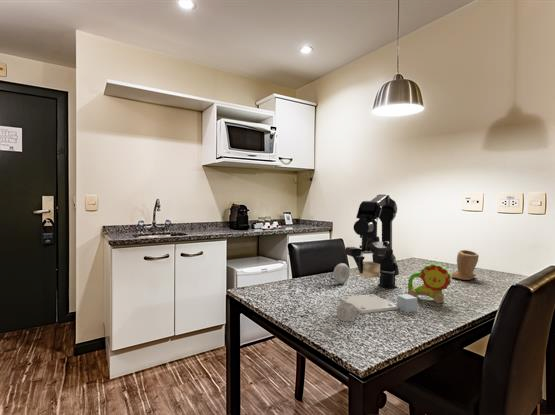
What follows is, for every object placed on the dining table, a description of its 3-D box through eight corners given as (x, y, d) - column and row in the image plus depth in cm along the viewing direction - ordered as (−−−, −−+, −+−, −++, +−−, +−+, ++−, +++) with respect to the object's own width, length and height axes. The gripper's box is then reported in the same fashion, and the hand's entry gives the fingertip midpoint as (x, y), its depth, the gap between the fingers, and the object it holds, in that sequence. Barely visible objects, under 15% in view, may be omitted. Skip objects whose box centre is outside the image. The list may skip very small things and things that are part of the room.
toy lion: (406, 298, 132) (407, 262, 132) (408, 294, 137) (409, 260, 137) (449, 305, 124) (451, 266, 124) (450, 301, 129) (451, 264, 129)
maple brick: (370, 273, 127) (370, 261, 127) (379, 277, 121) (380, 264, 121) (357, 274, 125) (357, 261, 125) (366, 278, 120) (366, 264, 119)
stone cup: (473, 283, 158) (474, 253, 157) (448, 278, 167) (449, 250, 166) (482, 278, 168) (483, 250, 168) (458, 274, 177) (459, 247, 176)
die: (356, 319, 108) (356, 304, 108) (349, 323, 105) (349, 308, 105) (343, 315, 112) (344, 301, 112) (336, 319, 108) (336, 304, 108)
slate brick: (407, 306, 122) (407, 294, 122) (416, 311, 117) (417, 297, 117) (396, 308, 120) (397, 295, 120) (405, 312, 116) (406, 299, 115)
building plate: (372, 296, 134) (372, 292, 134) (398, 309, 119) (398, 305, 119) (339, 299, 129) (339, 295, 129) (361, 313, 114) (361, 309, 114)
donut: (345, 281, 157) (346, 261, 157) (351, 283, 154) (351, 262, 154) (331, 284, 151) (331, 263, 151) (336, 286, 149) (337, 265, 148)
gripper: (360, 236, 113) (359, 279, 113) (403, 235, 119) (401, 276, 119) (344, 232, 123) (343, 272, 124) (384, 232, 129) (383, 270, 129)
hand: (368, 273), depth 124 cm, fingers closed on maple brick, 6 cm apart
